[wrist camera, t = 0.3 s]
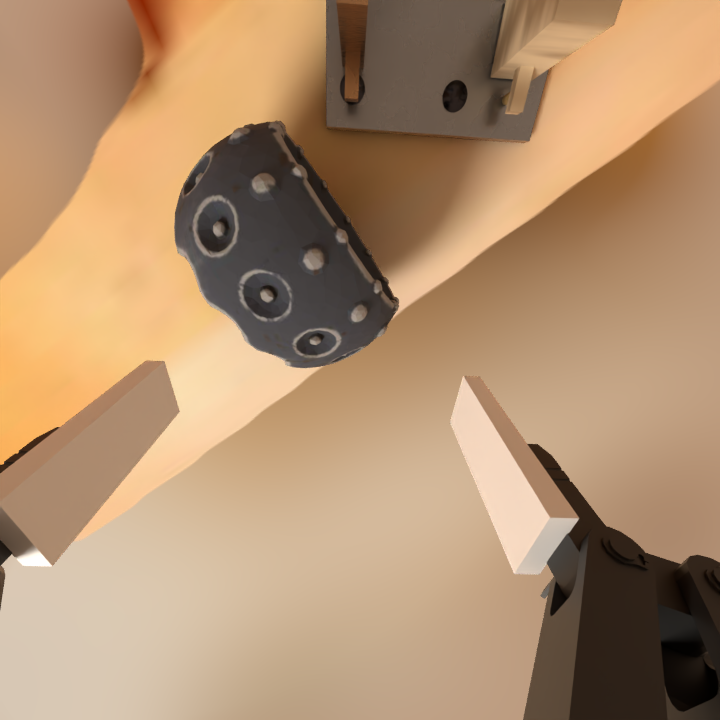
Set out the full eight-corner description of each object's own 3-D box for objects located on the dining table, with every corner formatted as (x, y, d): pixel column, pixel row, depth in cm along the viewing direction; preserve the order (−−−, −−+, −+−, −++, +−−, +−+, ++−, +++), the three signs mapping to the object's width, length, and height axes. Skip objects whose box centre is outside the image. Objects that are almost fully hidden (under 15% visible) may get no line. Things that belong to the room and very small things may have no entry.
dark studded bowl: (294, 130, 30) (210, 33, 13) (394, 286, 38) (428, 358, 21) (223, 197, 33) (75, 195, 16) (330, 329, 41) (312, 425, 24)
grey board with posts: (327, -33, 25) (309, -184, 15) (563, -10, 26) (692, -140, 16) (327, 128, 30) (314, 94, 20) (523, 143, 31) (601, 116, 21)
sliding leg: (506, -1, 25) (588, -110, 16) (551, 3, 25) (656, -103, 16) (482, 118, 29) (537, 81, 20) (521, 120, 29) (593, 86, 20)
